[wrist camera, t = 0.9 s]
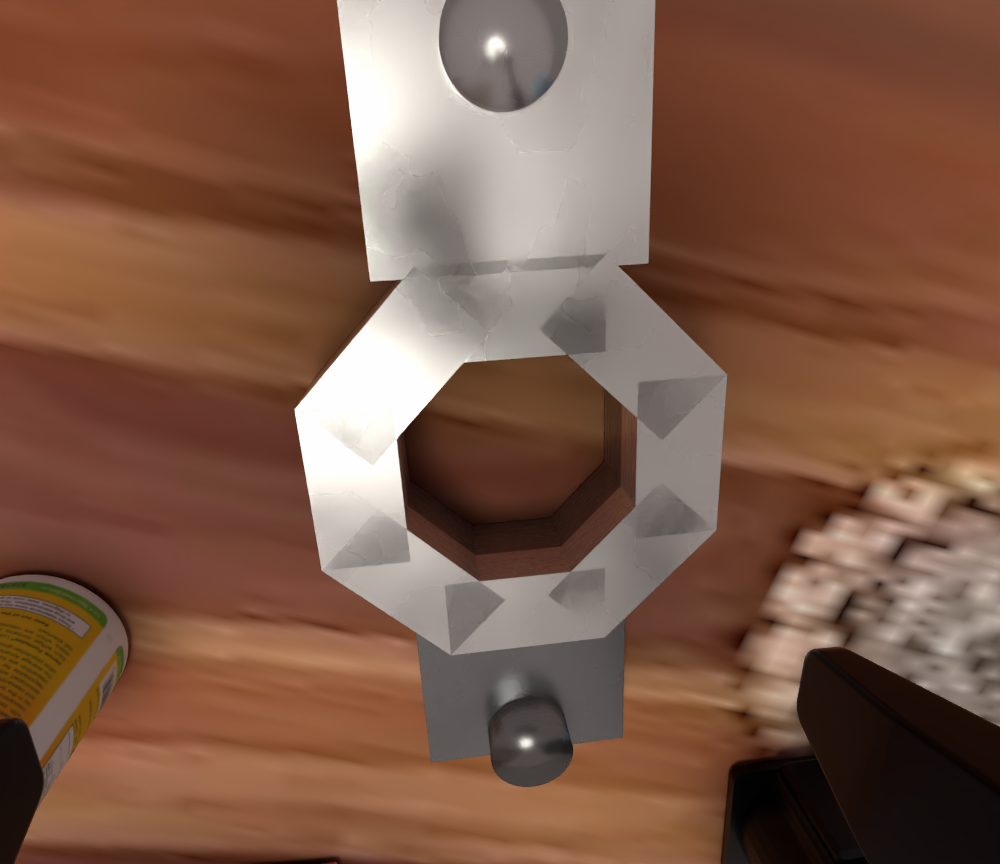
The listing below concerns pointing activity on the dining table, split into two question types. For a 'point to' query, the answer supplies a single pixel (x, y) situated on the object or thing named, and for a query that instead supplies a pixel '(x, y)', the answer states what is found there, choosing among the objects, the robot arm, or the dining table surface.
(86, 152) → the dining table surface
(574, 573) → the chain end upper
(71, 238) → the dining table surface
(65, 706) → the supplement bottle
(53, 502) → the dining table surface
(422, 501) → the chain end lower
